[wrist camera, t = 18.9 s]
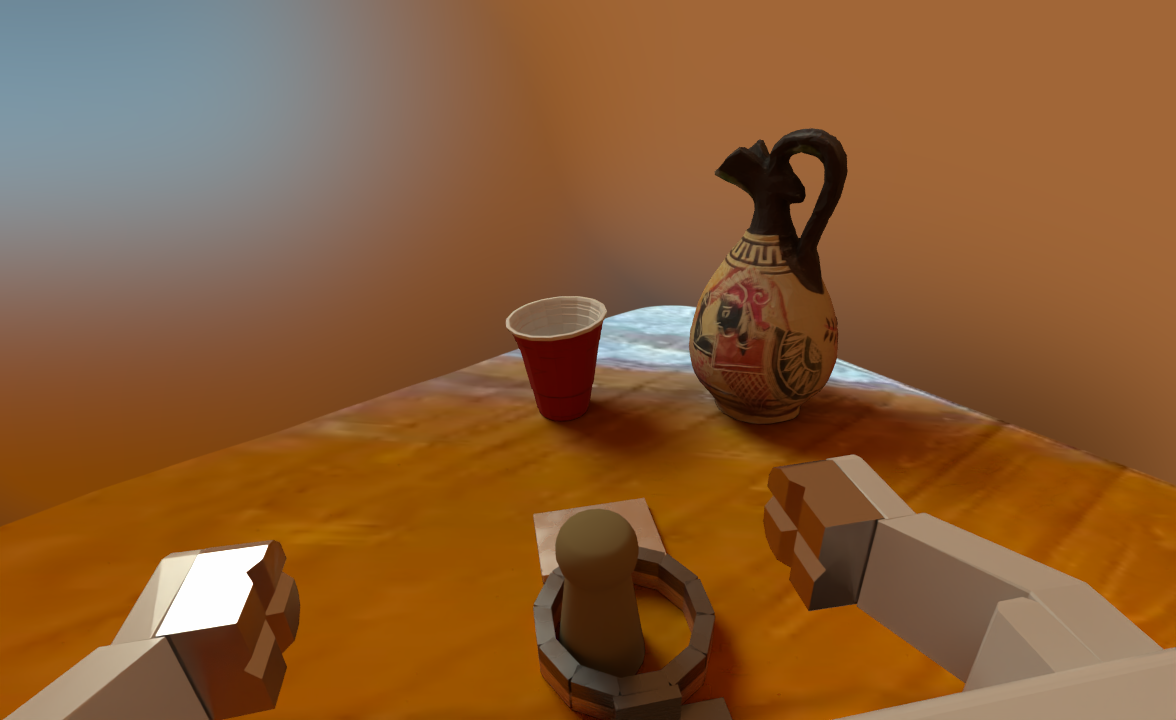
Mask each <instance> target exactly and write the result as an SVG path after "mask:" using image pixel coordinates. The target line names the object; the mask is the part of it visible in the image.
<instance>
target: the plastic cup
mask: <svg viewBox="0 0 1176 720" xmlns="http://www.w3.org/2000/svg"><path fill="white" fill-rule="evenodd" d="M606 313H607V311H606V308H605V306H604V304H602V303H600V302H599V301H596V300H595V299H591V298H586V297H579V296H561V297H555V298H548V299H542V300H539V301H535V302H532V303H529V304H526V305H525V306H522V307H521V308H519V309H517V310H515V311H513V312H512V313H511V315H510V316H509V317H508V318H507V319H506V327H507V329H508V331H509V332H511V333H512V334H513V336H514V338H515V341H516V342H517V344H518V347H519V349H520V350H521V354H522V357H523V361H524V364H525V367H526V371H527V374H528V378H529V381H530V384H531V388H532V389H533V392H534V396H535V399H536V403H537V407H538V409H539V411H540V413H541V414H542V415H543V416H544V417H546V418H549V419H551V420H558V421H565V420H572V419H575V418H578V417H580V416H582V415H583V414H584V413H586V411H587V409H588V405H589V403H590V397H591V390H592V384H593V382H594V375H595V367H596V360H597V353H598V345H599V340H600V335H601V330H602V323H603V320H604V318H605V317H606Z"/></svg>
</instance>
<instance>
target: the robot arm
mask: <svg viewBox="0 0 1176 720" xmlns="http://www.w3.org/2000/svg"><path fill="white" fill-rule="evenodd" d="M767 486H768V488H769V489H770V491H771V492H772V494H773V495H774V496H773V497H772V498H771V499H770V501H769V502H768V503H767V504H766V505H765V508H764V519H763V522H764V528H765V534H766V538H767V541H768V543H769V546H770V549H771V550H772V552H773V554H774V555H775V557H776V559H777V560H779V561H780V562H782V563H784V564H785V565H787V566H789V567H791V571H790V578H789V580H790V582H791V583H792V585H793V587H794V588H795V590H796V592H797V593H798V595H799V596H800V598H801V600H802V601H803V603H804V604H805V606H806V608H807V609H808V611H813V610H819V609H826V608H832V607H839V606H845V605H852V604H857V607H858V608H860V609H861V610H863V611H864V612H866V613H867V614H868V615H870V616H871V617H873V618H874V619H875V620H877V621H878V622H880V623H881V624H882V625H884V626H885V627H887V628H888V629H890V630H891V631H892V632H894V633H895V634H897V635H898V636H899V637H901V638H902V639H904V640H905V641H906V642H908V643H909V644H911V645H912V646H913V647H915V648H916V649H918V650H919V651H921V652H922V653H923V654H925V655H926V656H928V657H929V658H930V659H932V660H933V661H935V662H936V663H937V664H939V665H940V666H942V667H943V668H945V669H946V670H947V671H949V672H950V673H952V674H953V675H954V676H956V677H957V678H959V679H960V680H961V681H963V682H964V683H966V684H965V686H964V689H963V691H962V693H957V694H952V695H947V696H943V697H938V698H933V699H928V700H924V701H919V702H914V703H909V704H905V705H900V706H895V707H891V708H886V709H881V710H876V711H872V712H867V713H862V714H857V715H853V716H848V717H843V718H839V719H834V720H1176V647H1174V648H1170V649H1165V650H1163V649H1162V648H1161V647H1160V646H1159V645H1158V644H1157V643H1155V642H1154V641H1153V640H1152V639H1151V638H1150V637H1148V636H1147V635H1146V634H1145V633H1144V632H1143V631H1141V630H1140V629H1139V628H1138V627H1137V626H1136V625H1135V624H1133V623H1132V622H1131V621H1130V620H1129V619H1128V618H1126V617H1125V616H1124V615H1123V614H1122V613H1121V612H1119V611H1118V610H1117V609H1116V608H1115V607H1114V606H1113V605H1111V604H1110V603H1109V602H1108V601H1107V600H1106V599H1104V598H1103V597H1102V596H1101V595H1100V594H1099V593H1097V592H1096V591H1095V590H1094V589H1093V588H1092V587H1091V586H1089V585H1088V584H1087V583H1085V582H1083V581H1081V580H1078V579H1076V578H1074V577H1071V576H1069V575H1067V574H1064V573H1062V572H1060V571H1057V570H1055V569H1053V568H1051V567H1048V566H1046V565H1044V564H1041V563H1039V562H1037V561H1034V560H1032V559H1030V558H1027V557H1025V556H1023V555H1021V554H1018V553H1016V552H1014V551H1011V550H1009V549H1007V548H1004V547H1002V546H1000V545H997V544H995V543H993V542H991V541H988V540H986V539H984V538H981V537H979V536H977V535H974V534H972V533H970V532H967V531H965V530H963V529H961V528H958V527H956V526H954V525H951V524H949V523H947V522H944V521H942V520H940V519H937V518H935V517H933V516H931V515H928V514H926V513H921V514H916V513H915V512H914V511H913V510H912V509H911V508H910V507H909V506H908V505H907V504H906V503H905V502H904V501H903V500H902V499H901V498H900V497H899V496H898V495H897V494H896V493H895V492H894V491H893V490H892V489H891V488H890V487H889V486H888V485H887V484H886V483H885V482H884V481H883V480H882V479H881V478H880V477H879V475H878V474H877V473H876V472H875V471H874V470H873V469H872V468H871V467H870V466H869V465H868V464H867V463H866V462H865V461H864V460H863V459H862V458H861V457H859V456H856V455H854V454H853V455H847V456H841V457H835V458H829V459H826V460H820V461H813V462H807V463H800V464H794V465H787V466H780V467H774V468H773V469H772V470H771V472H770V474H769V479H768V485H767ZM285 561H286V556H285V553H284V551H283V549H282V546H281V544H280V542H277V541H275V540H270V541H262V542H254V543H246V544H238V545H230V546H221V547H213V548H206V549H204V550H194V551H186V552H178V553H171V554H170V555H168V556H167V557H165V558H164V559H162V560H161V562H160V563H159V565H158V567H157V568H156V570H155V572H154V573H153V575H152V577H151V578H150V580H149V582H148V583H147V585H146V587H145V588H144V590H143V592H142V593H141V595H140V597H139V598H138V600H137V602H136V604H135V605H134V607H133V609H132V610H131V612H130V614H129V615H128V617H127V619H126V620H125V622H124V624H123V625H122V627H121V629H120V630H119V632H118V634H117V635H116V637H115V639H114V640H113V642H112V644H111V645H109V646H104V647H98V648H97V649H96V650H94V651H93V652H92V653H91V654H89V655H88V656H87V657H85V658H84V659H83V660H81V661H80V662H79V663H77V664H76V665H75V666H73V667H72V668H71V669H69V670H68V671H67V672H66V673H64V674H63V675H62V676H60V677H59V678H58V679H56V680H55V681H54V682H52V683H51V684H50V685H48V686H47V687H46V688H44V689H43V690H42V691H41V692H39V693H38V694H37V695H35V696H34V697H33V698H31V699H30V700H29V701H27V702H26V703H25V704H23V705H22V706H21V707H19V708H18V709H17V710H16V711H14V712H13V713H12V714H10V715H9V716H8V717H6V718H5V719H4V720H223V719H228V718H233V717H238V716H242V715H247V714H252V713H257V712H261V711H266V710H271V709H275V706H276V703H277V699H278V696H279V692H280V689H281V686H282V682H283V679H284V675H285V672H286V669H287V666H286V663H285V661H284V658H283V656H282V653H283V652H284V651H285V650H286V649H287V648H288V647H289V646H290V645H291V644H292V643H293V642H294V641H295V637H296V633H297V629H298V626H299V614H300V601H299V594H298V589H297V586H296V583H295V580H294V579H293V578H292V577H290V576H288V575H287V574H285V573H284V572H282V570H283V567H284V564H285Z"/></svg>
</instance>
